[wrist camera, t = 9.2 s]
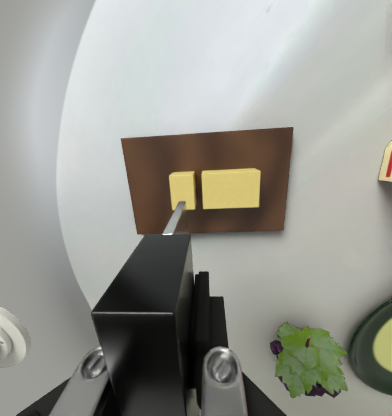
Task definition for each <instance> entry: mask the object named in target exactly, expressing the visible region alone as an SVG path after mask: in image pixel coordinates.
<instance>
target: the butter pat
mask: <svg viewBox="0 0 392 416" xmlns="http://www.w3.org/2000/svg"><path fill="white" fill-rule="evenodd" d="M169 182H170V192H171V202H172V210H175V208H176V206H177V204H178V202H179V201H186V208H187V210H194V209H195V208H196V203H197V201H196V185H195V171H190V172H173V173H172V174H171V175H169Z"/></svg>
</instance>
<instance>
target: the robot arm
mask: <svg viewBox="0 0 392 416" xmlns="http://www.w3.org/2000/svg"><path fill="white" fill-rule="evenodd" d="M194 290H195V293H194V304H193V315H192V326H191V353H192V365H193V376H194V387H195V389H196V397H197V405H198V406H199V408H200V409H201V416H286V415H285V414H284V413H283V412H282V411H281V410H280V409H279V408H278V407H277V406H276V405H275V404H274V403H273V402H272V401H271V400H270V399H269V398H268V397H267V396H266V395H265V394H264V393H263V392H262V391H261V390H260V389H259V388H258V387H257V386H256V385H255V384H254V383H253V382H252V381H251V380H250V379H249V378H248V377H247V376H246V375H245V374H244V373H243V372H242V370H241V365H240V361H239V359H238V357H237V356H236V354H235V353H234V352H233V351H232V350H230V349H228V339H227V330H226V320H225V310H224V300H223V297H210V295H209V272H199V274H195V284H194ZM11 351H12V342H11V339H10V337H9V336H8V334H7V333H6V332H5V331H4V330H3V329H2V328H1V327H0V362H1V361H3V360H4V359H5V358H6V357H7V356H8V355H9V354H10V353H11ZM16 416H121V413H120V410H119V406H118V403H117V400H116V396H115V393H114V390H113V386H112V383H111V380H110V376H109V373H108V370H107V366H106V363H105V360H104V356H103V353H102V350H101V347H100V346H97V347H95V348H94V349H92V350H90V351H89V352H88V353H87V354H86V355H85V356H84V357H83V359H82V360H81V361H80V363H79V365H78V367H77V368H76V370H75V372H74V373H73V375H72V377H70V378H69V379H67V380H66V381H65V382H63V383H62V384H61V385H59V386H57V387H56V388H55V389H53V390H52V391H51V392H49V393H47V394H46V395H44V396H43V397H42V398H40V399H39V400H38V401H36V402H34V403H33V404H32V405H30V406H29V407H27V408H26V409H24V410H23V411H21V412H20V413H19V414H17V415H16Z"/></svg>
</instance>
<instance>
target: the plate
mask: <svg viewBox="0 0 392 416" xmlns="http://www.w3.org/2000/svg"><path fill="white" fill-rule="evenodd" d="M349 358H350V363H351V366H352V369H353V371H354V372H355V374H356V375H357V377H358V378H359V379H360V380H361V381H362V382H364V383H365V384H366V385H368V386H369V387H371V388H373V389H375V390H377V391H379V392H382V393H384V394H387V395H391V396H392V299H391V300H389V301H387V302H386V303H384V304H383V305H381V306H380V307H379V308H377V309H376V310H375V311H374V312H373V313H372V314H370V315H369V316H368V317H367V318H366V319H365V321H364V322H363V323H362V324H361V325H360V327H359V328H358V330H357V331H356V333H355V335H354V337H353V339H352V342H351V345H350V351H349Z"/></svg>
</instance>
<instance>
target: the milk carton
mask: <svg viewBox="0 0 392 416" xmlns="http://www.w3.org/2000/svg"><path fill="white" fill-rule="evenodd" d="M378 180H383V181H390V182H392V141H391V142H390V144H389V145H388V146H387V147H386V149H385V154H384V158H383V162H382V166H381V171H380V175H379V179H378Z"/></svg>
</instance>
